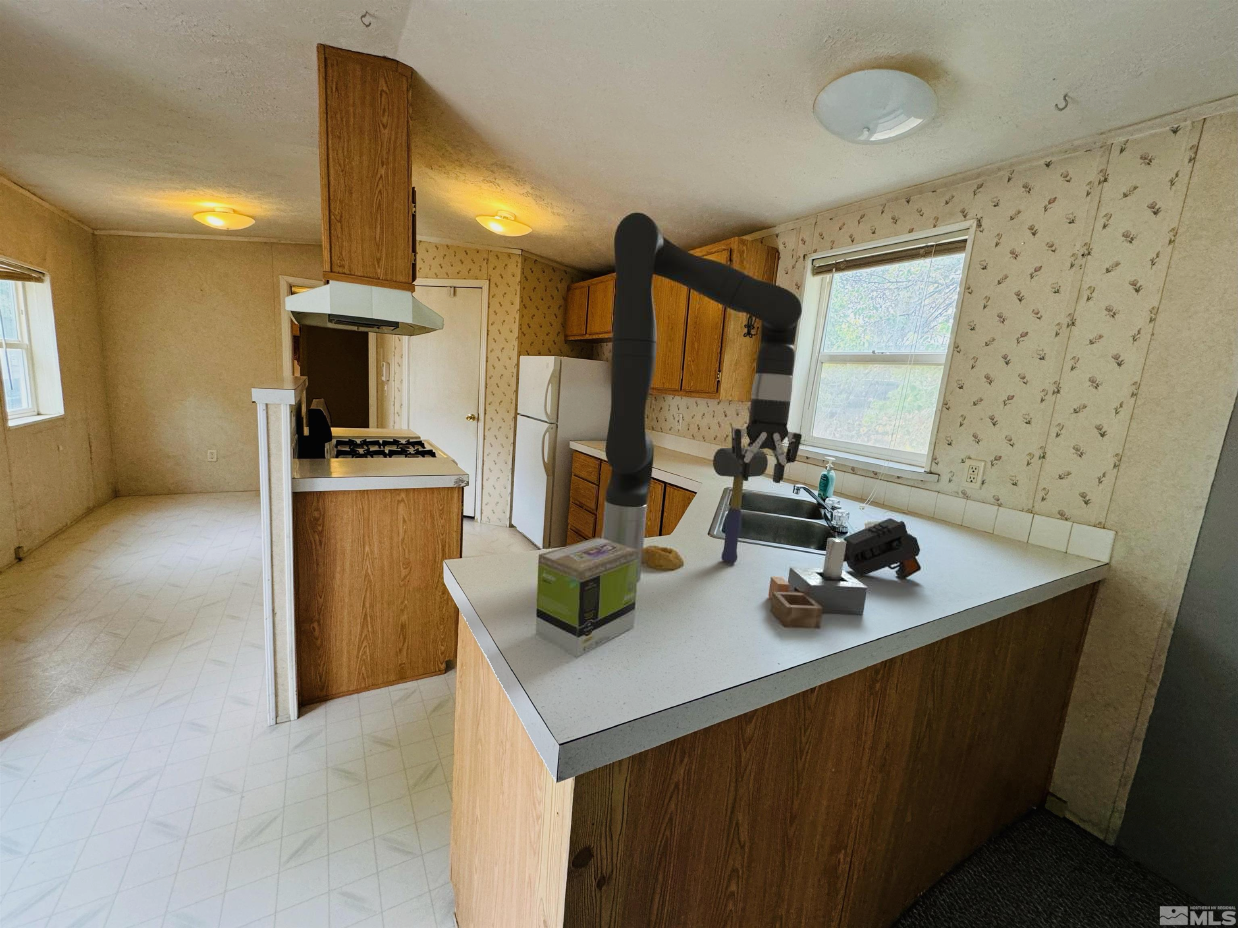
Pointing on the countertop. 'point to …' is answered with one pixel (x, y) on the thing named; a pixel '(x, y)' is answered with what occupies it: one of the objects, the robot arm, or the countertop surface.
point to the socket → (829, 590)
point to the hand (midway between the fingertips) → (760, 481)
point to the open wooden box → (796, 610)
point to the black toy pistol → (883, 549)
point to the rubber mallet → (735, 494)
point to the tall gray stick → (834, 559)
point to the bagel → (661, 558)
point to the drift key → (779, 586)
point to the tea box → (586, 594)
